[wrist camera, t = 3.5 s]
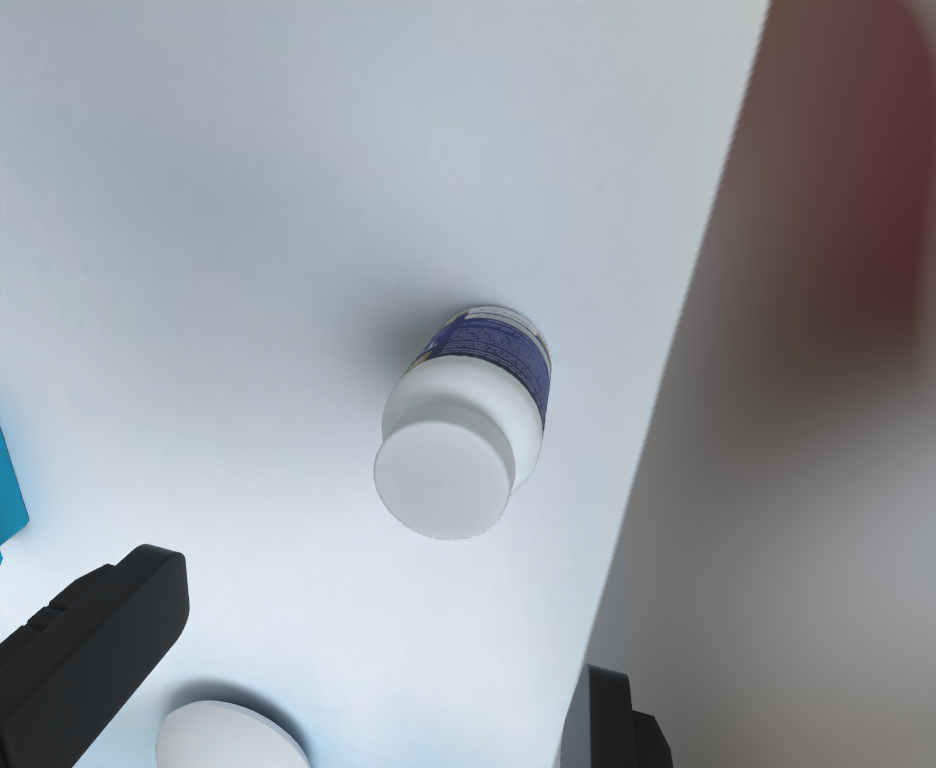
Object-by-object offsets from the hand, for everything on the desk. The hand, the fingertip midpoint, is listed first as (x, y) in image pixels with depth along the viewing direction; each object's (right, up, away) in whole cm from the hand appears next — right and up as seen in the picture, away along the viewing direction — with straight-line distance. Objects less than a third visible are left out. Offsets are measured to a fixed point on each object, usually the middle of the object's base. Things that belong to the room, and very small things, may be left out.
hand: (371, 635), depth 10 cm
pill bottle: (+3, +6, +14) cm, 15 cm away
